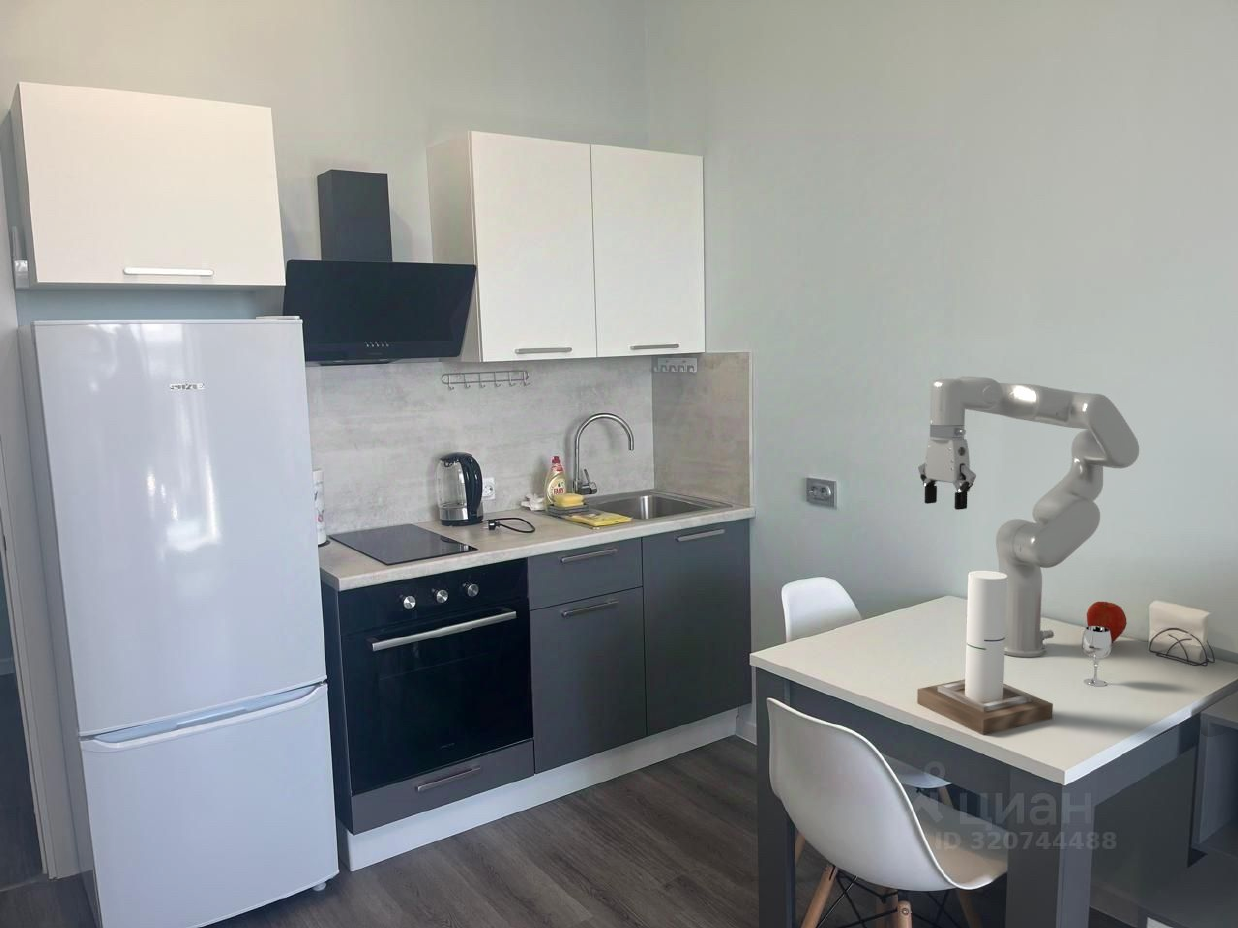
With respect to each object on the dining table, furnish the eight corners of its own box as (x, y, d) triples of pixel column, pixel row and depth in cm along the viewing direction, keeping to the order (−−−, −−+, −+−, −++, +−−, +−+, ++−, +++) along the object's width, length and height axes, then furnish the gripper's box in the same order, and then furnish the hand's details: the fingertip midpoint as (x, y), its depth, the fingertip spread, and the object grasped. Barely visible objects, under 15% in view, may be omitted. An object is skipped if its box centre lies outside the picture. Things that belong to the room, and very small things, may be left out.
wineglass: (1098, 689, 199) (1100, 634, 198) (1074, 681, 204) (1076, 627, 203) (1116, 684, 202) (1118, 630, 201) (1091, 676, 207) (1094, 623, 206)
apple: (1131, 645, 227) (1133, 602, 226) (1113, 652, 222) (1115, 608, 221) (1097, 637, 234) (1098, 595, 233) (1078, 643, 229) (1080, 600, 228)
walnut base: (983, 688, 201) (983, 670, 200) (1052, 718, 185) (1053, 698, 184) (917, 702, 194) (917, 684, 193) (983, 734, 177) (983, 714, 177)
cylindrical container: (1006, 703, 185) (1010, 579, 182) (968, 701, 186) (971, 578, 183) (998, 690, 192) (1003, 571, 189) (962, 688, 193) (965, 570, 190)
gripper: (987, 434, 209) (985, 510, 211) (933, 429, 225) (931, 499, 227) (962, 436, 206) (960, 513, 208) (908, 430, 222) (907, 502, 224)
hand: (945, 505), depth 217 cm, fingers open, 9 cm apart
